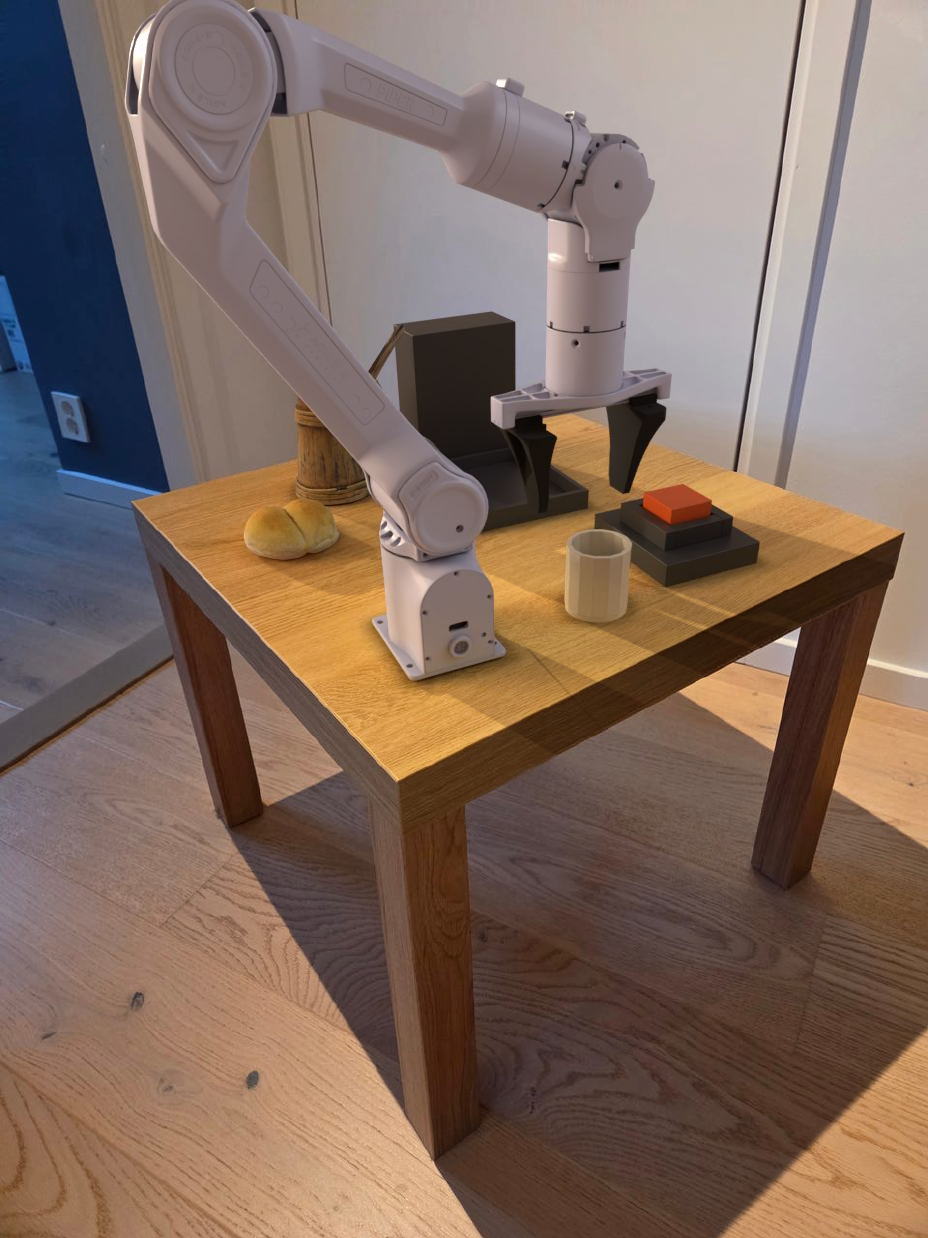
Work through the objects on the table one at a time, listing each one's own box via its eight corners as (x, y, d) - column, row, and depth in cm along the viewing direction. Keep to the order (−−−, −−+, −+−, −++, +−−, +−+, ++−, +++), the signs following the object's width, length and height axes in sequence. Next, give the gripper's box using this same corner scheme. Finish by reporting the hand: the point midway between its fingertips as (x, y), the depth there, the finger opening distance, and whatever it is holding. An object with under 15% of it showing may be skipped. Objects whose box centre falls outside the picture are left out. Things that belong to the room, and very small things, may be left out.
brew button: (710, 517, 78) (712, 500, 77) (669, 527, 76) (671, 509, 75) (681, 500, 81) (683, 483, 80) (642, 509, 80) (643, 492, 79)
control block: (756, 563, 78) (763, 523, 75) (664, 588, 74) (669, 547, 72) (678, 513, 87) (682, 477, 85) (593, 534, 84) (595, 496, 82)
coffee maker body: (515, 460, 101) (515, 321, 92) (421, 479, 97) (412, 335, 89) (494, 445, 106) (492, 311, 97) (403, 462, 102) (393, 324, 93)
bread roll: (239, 537, 86) (232, 500, 84) (324, 518, 89) (319, 482, 87) (257, 571, 79) (249, 532, 77) (349, 550, 82) (344, 512, 80)
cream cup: (639, 613, 71) (645, 549, 68) (584, 629, 69) (587, 563, 66) (606, 586, 75) (610, 524, 72) (553, 600, 73) (554, 537, 70)
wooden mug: (407, 508, 90) (395, 334, 81) (285, 504, 92) (258, 334, 83) (422, 476, 98) (412, 313, 88) (309, 473, 100) (287, 313, 90)
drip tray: (588, 508, 89) (588, 489, 88) (472, 534, 84) (472, 515, 83) (521, 461, 101) (522, 444, 100) (417, 481, 96) (416, 464, 95)
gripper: (639, 301, 67) (628, 465, 74) (471, 325, 62) (476, 498, 69) (695, 319, 61) (677, 494, 68) (515, 346, 56) (516, 531, 64)
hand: (579, 498), depth 68 cm, fingers open, 7 cm apart
